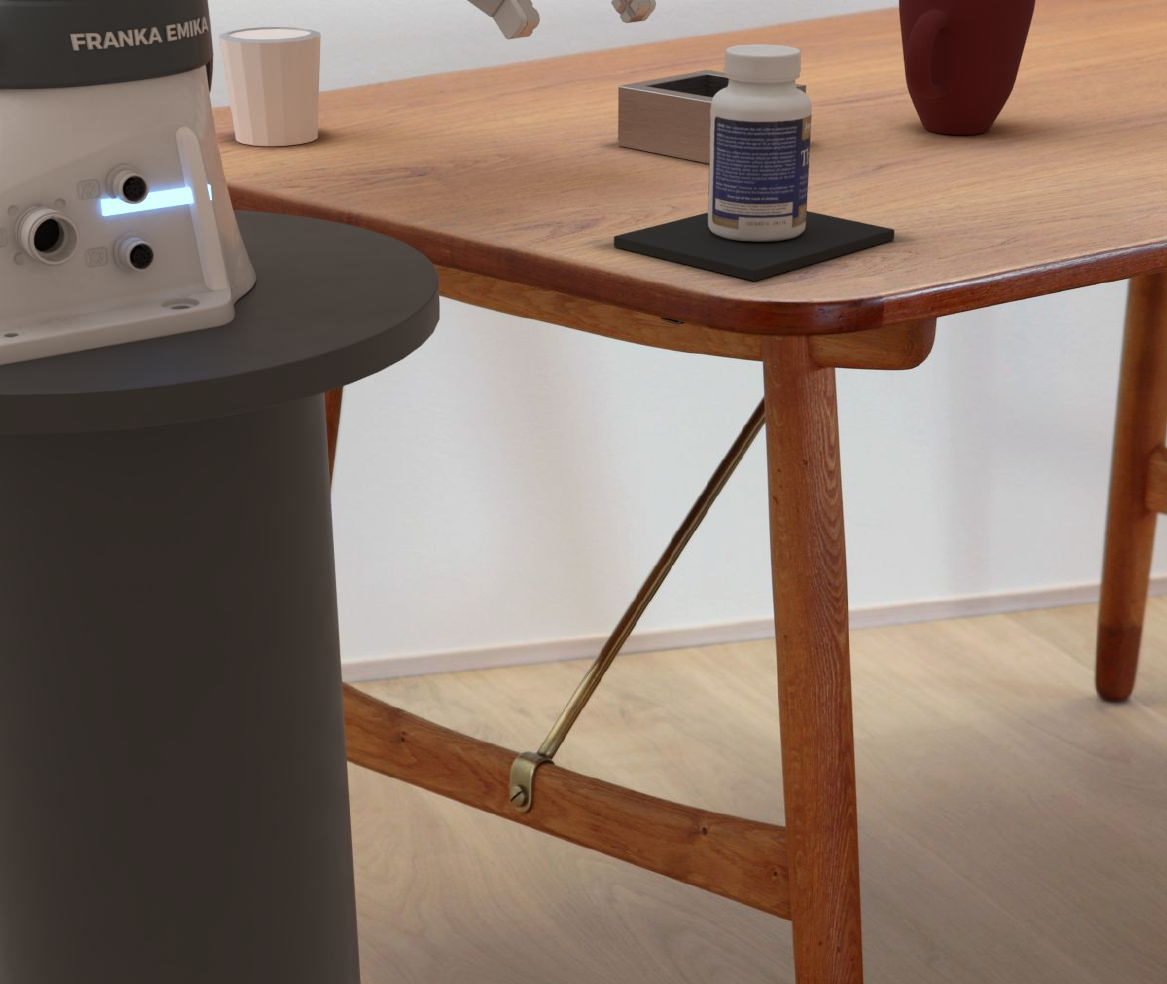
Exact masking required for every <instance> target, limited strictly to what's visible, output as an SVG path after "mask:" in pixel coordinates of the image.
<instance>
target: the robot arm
mask: <svg viewBox="0 0 1167 984" xmlns="http://www.w3.org/2000/svg"><path fill="white" fill-rule="evenodd" d="M466 1H467V2H468V3H470V4H471V5H472V6H474V7H475V8H478V10H480V11H481V12H483V13H484V14H485V15H486V16H488V17H489V18H492V20H493V21H494V22H495V24H496V25H497V28H498V29H499V30H500V32H501V34H502V35H503V37H504V38H505V39H506V40H515V39H520V38H527V37H531V36H532V34H533V31H534V30H535V29H536V28H538V26H539V25H540V21H541V18H540V13H539V11H538V10H537V9H536V8H535V7H533V2H532V0H466ZM610 3H611V5H612V7H613V9H614V11H616V13H618V14H619V17H620V20H621V21H622V22H623V23H625V24H631V23H638V22H639V23H640V22H644V21H647V19H648V18H649V17H650V16H651V15H652V13H653V12H654V10H655V9H656V6H657V1H656V0H611V1H610ZM211 25H212V24H211V16H210V9H209V0H0V365H5V364H11V363H17V362H22V361H28V360H34V359H39V358H45V357H50V356H56V355H62V354H67V353H73V352H79V351H84V350H90V349H95V348H101V347H107V346H112V345H118V344H124V343H129V342H135V341H141V340H146V339H152V338H157V337H163V336H169V335H174V334H180V333H186V332H191V331H197V330H202V329H208V328H214V327H219V326H222V325H226V324H228V323H230V322H231V321H232V320H233V319H234V317H235V309H234V304H235V302H236V301H237V300H238V299H239V298H241V297H242V296H243V295H244V294H246V293H247V292H248V291H249V290H250V289H251V288H252V287H253V286H254V284H255V282H256V274H255V271H254V269H253V266H252V264H251V262H250V259H249V257H248V254H247V251H246V248H245V246H244V243H243V240H242V237H241V234H240V231H239V228H238V224H237V221H236V218H235V214H234V211H233V210H234V208H233V207H234V206H233V204H232V199H231V195H230V191H229V188H228V183H227V179H226V175H225V170H224V165H223V161H222V156H221V152H220V147H219V141H218V136H217V131H216V126H215V125H216V124H215V120H214V113H213V107H212V101H211V93H212V92H211V91H212V83H213V72H214V47H213V36H212V26H211Z"/></svg>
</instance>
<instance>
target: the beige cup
mask: <svg viewBox="0 0 1167 984" xmlns="http://www.w3.org/2000/svg"><path fill="white" fill-rule="evenodd" d="M218 36H219V37H218V40H219V47H220V52H221V59H222V64H223V70H224V76H225V82H226V83H225V84H226V88H227V89H226V90H227V94H228V100H229V101H228V102H229V107H230V112H231V119H232V123H233V132H234V136H235V137H234V138H235V141H236V142H238V143H240V144H243V145H248V146H255V147H256V146H258V147H286V146H287V147H288V146H296V145H302V144H307V143H311V142H313V141H315V140H317V139H319V138H318V137H319V136H318V135H319V133H318V132H319V104H320V103H319V101H320V100H319V99H320V72H321V71H320V67H321V64H320V63H321V38H322V37H321V32H320V31H316V30H313V29H307V28H299V27H289V26H287V27H286V26H265V27H264V26H263V27H262V26H261V27H260V26H259V27H247V28H242V29H236V30H231V31H226V32H223V33H220V34H219V35H218Z"/></svg>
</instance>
